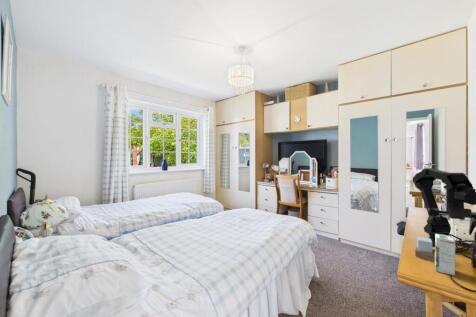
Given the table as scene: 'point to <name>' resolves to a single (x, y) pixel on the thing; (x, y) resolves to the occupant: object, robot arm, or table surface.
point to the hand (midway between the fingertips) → (455, 232)
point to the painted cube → (424, 244)
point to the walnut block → (425, 255)
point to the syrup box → (445, 254)
